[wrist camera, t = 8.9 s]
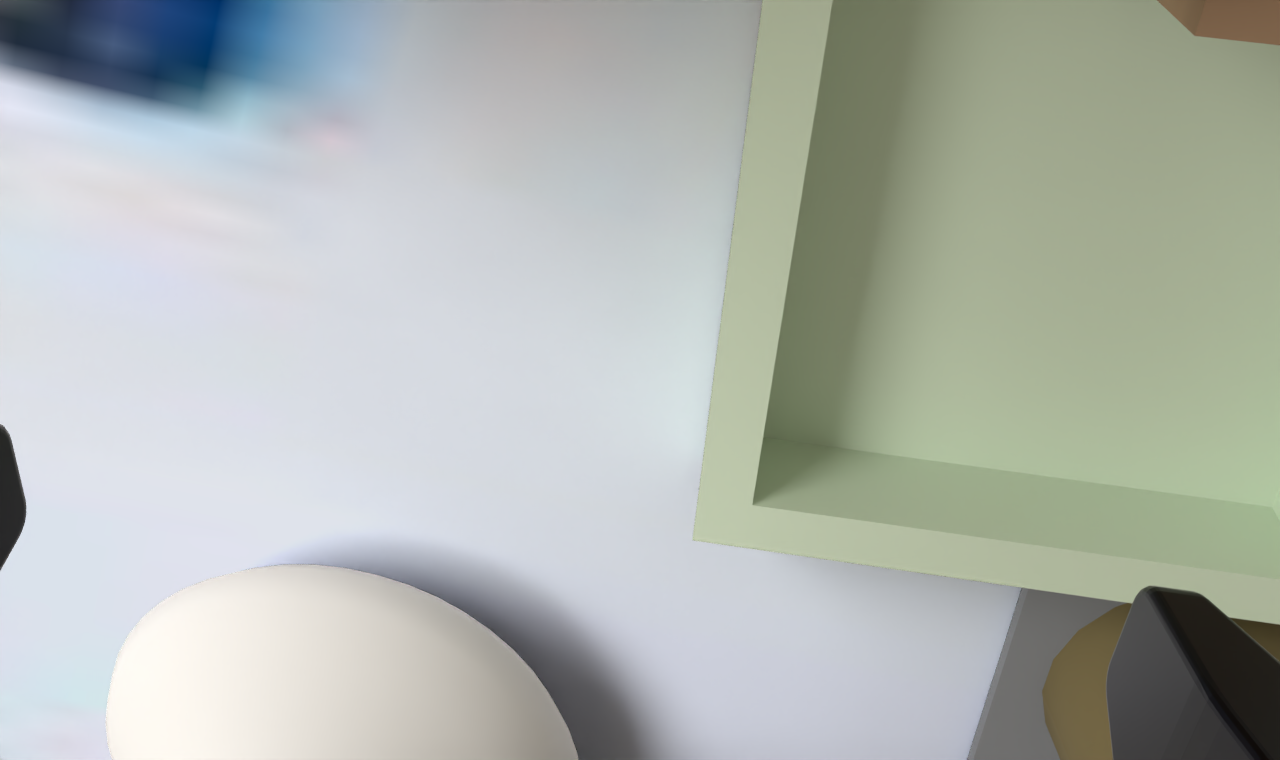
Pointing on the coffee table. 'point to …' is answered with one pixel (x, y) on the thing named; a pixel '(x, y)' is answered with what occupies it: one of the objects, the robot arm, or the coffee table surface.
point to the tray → (1005, 300)
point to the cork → (1101, 684)
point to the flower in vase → (323, 676)
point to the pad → (1030, 674)
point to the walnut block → (1229, 19)
